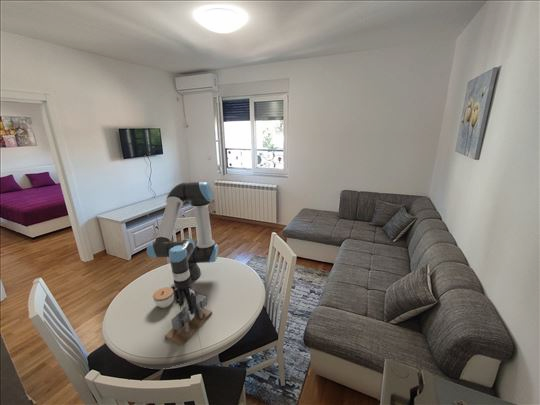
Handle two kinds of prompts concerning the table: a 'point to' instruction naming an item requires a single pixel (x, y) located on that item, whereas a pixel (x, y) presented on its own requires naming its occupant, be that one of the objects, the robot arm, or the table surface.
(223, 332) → the table surface
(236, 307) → the table surface
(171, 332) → the rack
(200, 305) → the grey notched bar
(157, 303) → the lidded jar
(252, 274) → the table surface
